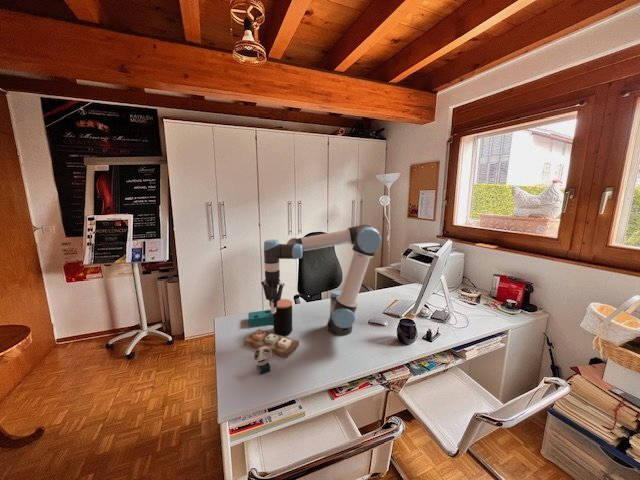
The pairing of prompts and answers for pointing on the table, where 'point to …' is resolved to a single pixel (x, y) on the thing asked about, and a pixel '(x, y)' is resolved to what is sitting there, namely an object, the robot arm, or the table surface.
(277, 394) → the table surface
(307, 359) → the table surface
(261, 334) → the die
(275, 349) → the wooden dice tray
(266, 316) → the teal l-shaped bracket
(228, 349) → the table surface
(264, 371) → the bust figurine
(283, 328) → the coffee jar
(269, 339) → the die
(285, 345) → the die
